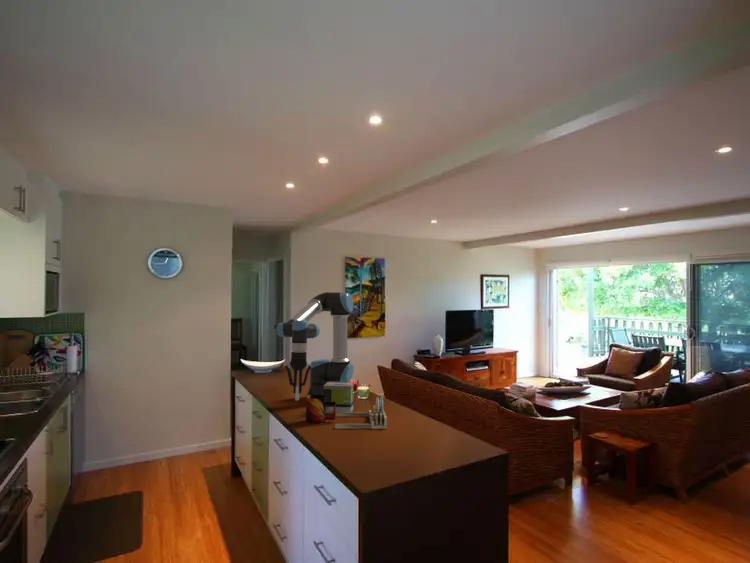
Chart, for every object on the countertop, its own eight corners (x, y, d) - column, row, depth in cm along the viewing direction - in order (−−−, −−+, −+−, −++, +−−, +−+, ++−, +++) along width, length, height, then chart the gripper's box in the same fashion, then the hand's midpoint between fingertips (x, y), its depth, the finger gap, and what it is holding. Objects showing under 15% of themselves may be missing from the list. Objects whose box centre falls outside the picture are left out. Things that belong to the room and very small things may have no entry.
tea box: (353, 410, 230) (354, 382, 231) (350, 414, 220) (351, 386, 221) (326, 408, 232) (327, 381, 233) (322, 413, 222) (323, 385, 223)
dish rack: (335, 416, 217) (336, 392, 218) (382, 416, 219) (382, 392, 219) (335, 428, 195) (335, 402, 196) (386, 428, 197) (387, 402, 197)
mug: (336, 422, 205) (336, 397, 206) (308, 424, 200) (308, 399, 201) (330, 417, 214) (331, 393, 215) (303, 419, 209) (304, 395, 210)
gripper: (284, 352, 204) (282, 401, 203) (311, 352, 205) (309, 401, 204) (286, 350, 212) (284, 398, 210) (312, 350, 213) (311, 398, 211)
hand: (297, 399), depth 207 cm, fingers closed
